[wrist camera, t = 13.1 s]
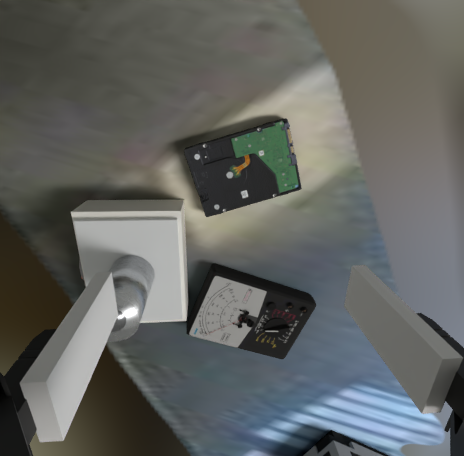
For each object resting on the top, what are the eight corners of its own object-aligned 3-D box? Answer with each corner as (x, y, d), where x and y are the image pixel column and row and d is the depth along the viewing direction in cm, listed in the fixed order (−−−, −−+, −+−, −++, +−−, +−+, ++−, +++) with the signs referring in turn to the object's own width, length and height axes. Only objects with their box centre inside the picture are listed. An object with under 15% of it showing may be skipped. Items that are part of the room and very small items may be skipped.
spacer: (107, 255, 38) (76, 298, 30) (152, 254, 39) (135, 295, 30) (113, 293, 41) (87, 343, 32) (156, 291, 41) (142, 340, 32)
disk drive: (206, 213, 45) (297, 185, 44) (206, 219, 42) (303, 189, 42) (183, 147, 41) (283, 116, 40) (182, 150, 38) (288, 116, 38)
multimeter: (279, 346, 56) (286, 367, 51) (186, 321, 52) (184, 341, 47) (311, 292, 52) (321, 310, 47) (212, 260, 48) (212, 276, 43)
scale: (81, 200, 42) (61, 214, 36) (183, 199, 43) (180, 212, 37) (100, 302, 48) (86, 328, 42) (188, 299, 50) (186, 324, 44)
